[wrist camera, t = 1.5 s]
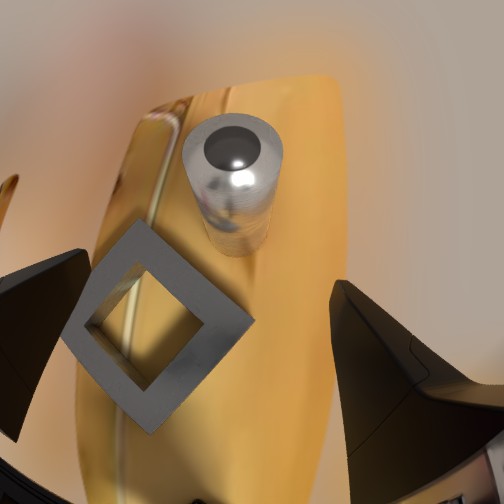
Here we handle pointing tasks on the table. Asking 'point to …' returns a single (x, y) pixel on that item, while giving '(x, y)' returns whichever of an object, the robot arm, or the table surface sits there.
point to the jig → (188, 359)
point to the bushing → (234, 179)
